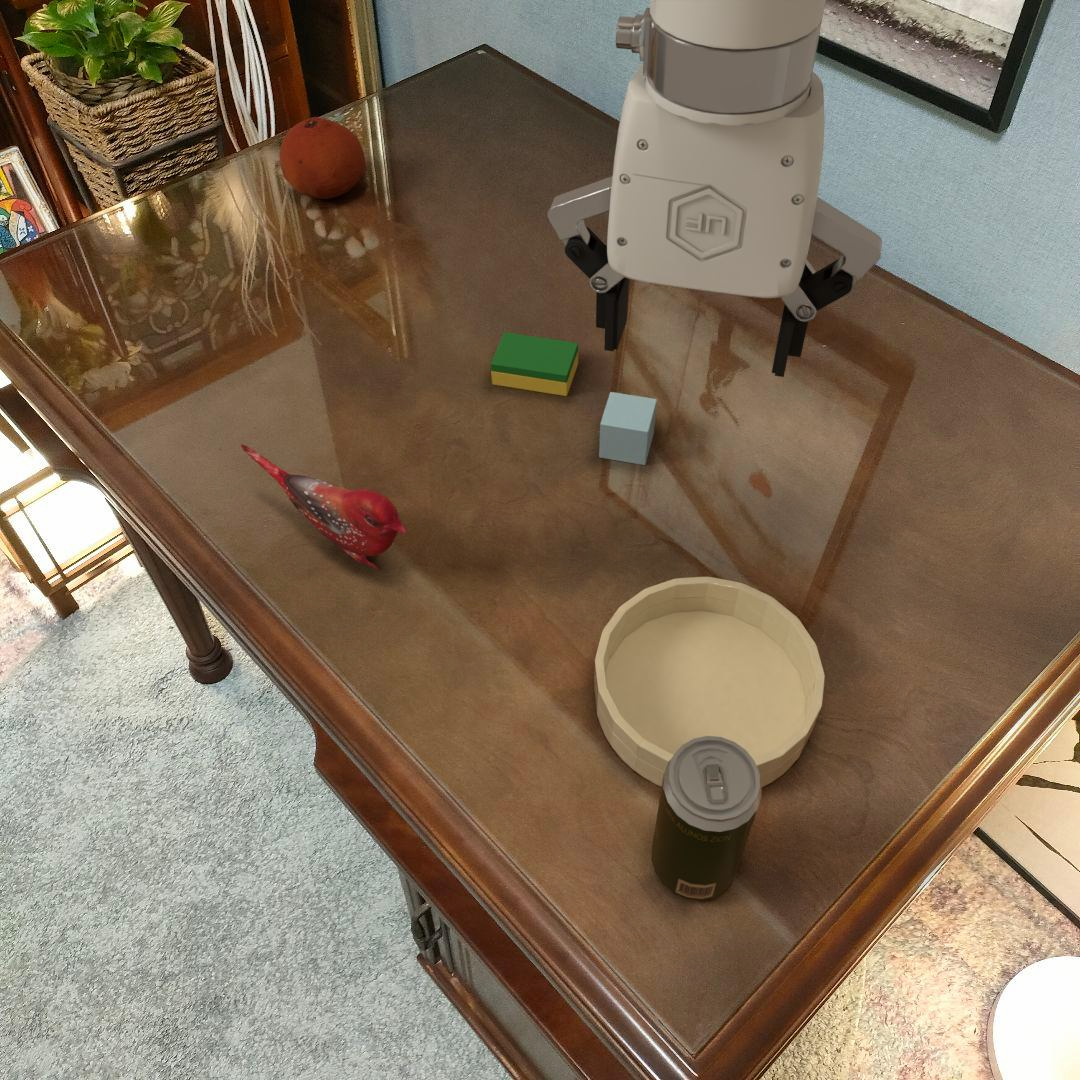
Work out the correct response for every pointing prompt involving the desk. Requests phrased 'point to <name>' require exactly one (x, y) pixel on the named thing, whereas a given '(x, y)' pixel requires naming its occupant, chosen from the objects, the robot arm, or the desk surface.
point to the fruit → (321, 158)
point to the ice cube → (627, 428)
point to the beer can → (704, 816)
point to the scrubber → (534, 364)
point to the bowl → (706, 675)
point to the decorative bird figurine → (340, 511)
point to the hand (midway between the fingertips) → (696, 348)
